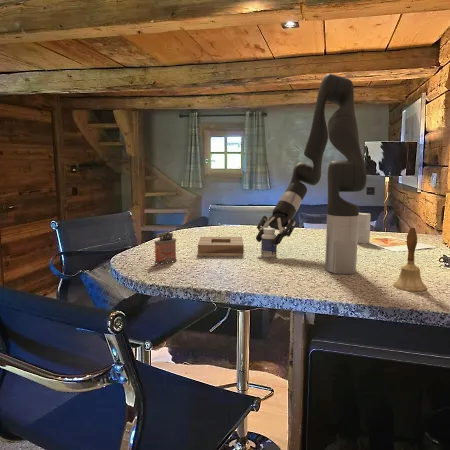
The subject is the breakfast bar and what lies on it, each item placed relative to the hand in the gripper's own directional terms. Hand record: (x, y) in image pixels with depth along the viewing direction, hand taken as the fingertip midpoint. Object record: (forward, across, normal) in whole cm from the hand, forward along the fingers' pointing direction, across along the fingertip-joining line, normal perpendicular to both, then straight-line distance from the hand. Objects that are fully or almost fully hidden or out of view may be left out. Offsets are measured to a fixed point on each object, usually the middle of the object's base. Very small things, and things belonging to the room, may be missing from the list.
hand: (266, 242), depth 149 cm
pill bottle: (+3, 0, +5) cm, 6 cm away
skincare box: (-30, +11, +37) cm, 49 cm away
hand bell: (+4, +50, +3) cm, 50 cm away
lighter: (+25, -18, -18) cm, 36 cm away
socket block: (+8, -17, 0) cm, 19 cm away
